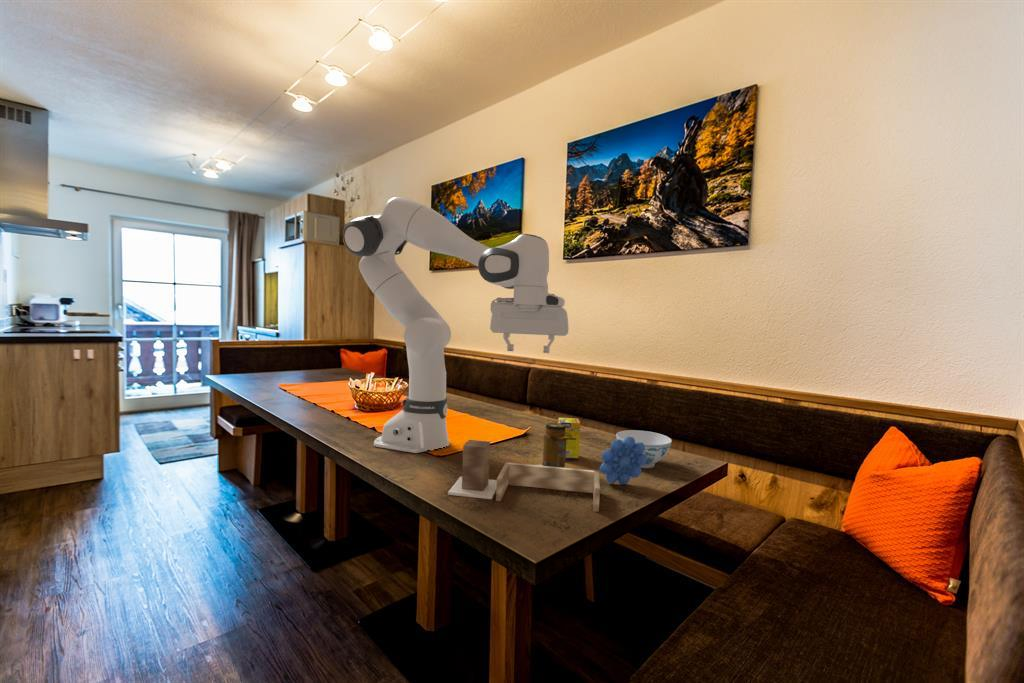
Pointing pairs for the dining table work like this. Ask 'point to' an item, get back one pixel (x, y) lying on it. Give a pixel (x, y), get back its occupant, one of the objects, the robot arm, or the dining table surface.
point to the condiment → (554, 445)
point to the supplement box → (571, 437)
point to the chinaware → (649, 444)
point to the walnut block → (475, 465)
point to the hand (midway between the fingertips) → (528, 352)
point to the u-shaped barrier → (549, 479)
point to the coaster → (485, 494)
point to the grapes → (623, 460)
